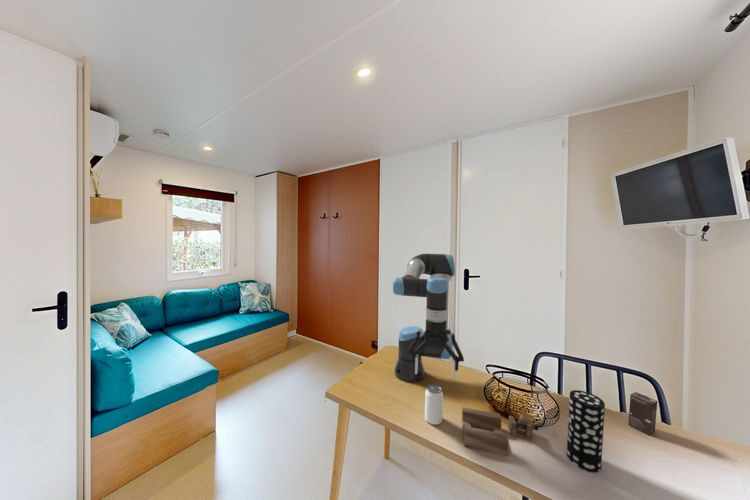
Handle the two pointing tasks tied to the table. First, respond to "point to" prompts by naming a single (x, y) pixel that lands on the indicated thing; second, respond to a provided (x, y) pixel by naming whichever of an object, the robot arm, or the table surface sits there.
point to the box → (642, 413)
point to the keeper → (523, 421)
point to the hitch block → (488, 439)
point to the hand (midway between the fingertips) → (434, 375)
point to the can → (433, 404)
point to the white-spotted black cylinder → (585, 430)
